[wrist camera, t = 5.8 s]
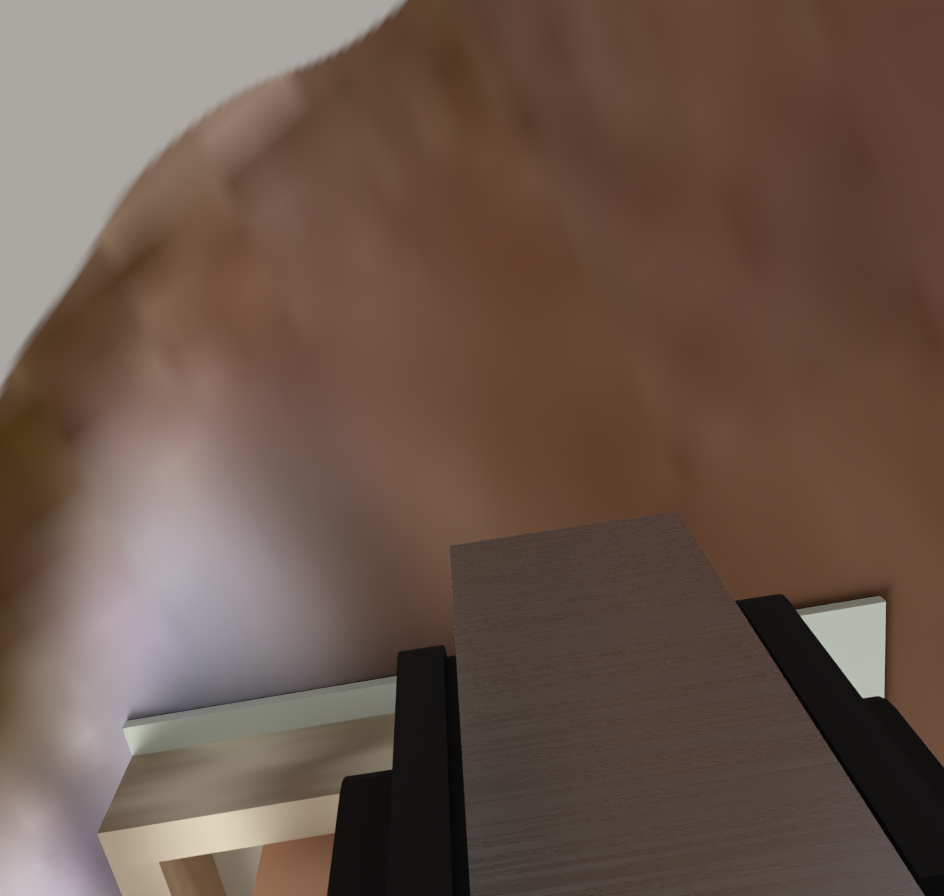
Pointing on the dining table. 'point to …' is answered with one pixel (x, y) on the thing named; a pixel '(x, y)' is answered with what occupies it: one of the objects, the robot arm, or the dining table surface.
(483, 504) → the dining table surface
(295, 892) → the block
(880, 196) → the dining table surface
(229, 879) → the mat
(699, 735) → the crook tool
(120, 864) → the frame
